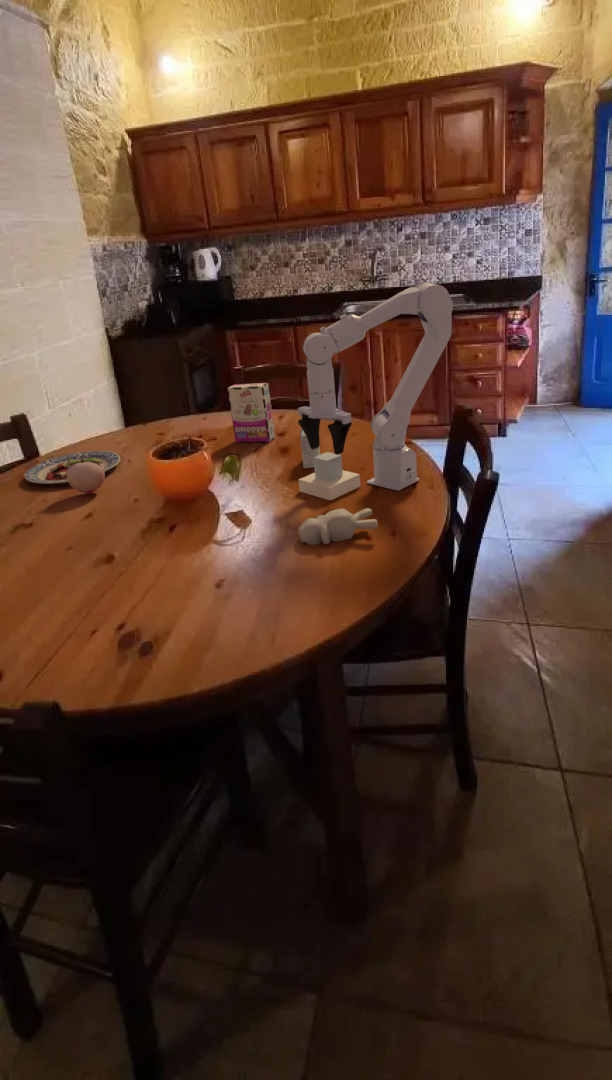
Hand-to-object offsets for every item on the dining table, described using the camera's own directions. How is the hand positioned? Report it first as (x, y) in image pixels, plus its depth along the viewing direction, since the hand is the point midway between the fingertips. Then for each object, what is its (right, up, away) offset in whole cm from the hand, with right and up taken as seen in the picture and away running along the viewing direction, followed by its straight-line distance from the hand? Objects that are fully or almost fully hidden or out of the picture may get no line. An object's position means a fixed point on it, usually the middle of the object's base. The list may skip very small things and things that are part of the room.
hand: (326, 450), depth 149 cm
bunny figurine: (+2, -20, -20) cm, 28 cm away
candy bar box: (-20, +9, +46) cm, 51 cm away
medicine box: (-3, 0, +22) cm, 22 cm away
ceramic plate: (-69, -2, +35) cm, 77 cm away
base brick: (+1, -8, +4) cm, 9 cm away
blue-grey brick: (+1, -6, +3) cm, 6 cm away
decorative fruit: (-59, -9, +17) cm, 62 cm away
